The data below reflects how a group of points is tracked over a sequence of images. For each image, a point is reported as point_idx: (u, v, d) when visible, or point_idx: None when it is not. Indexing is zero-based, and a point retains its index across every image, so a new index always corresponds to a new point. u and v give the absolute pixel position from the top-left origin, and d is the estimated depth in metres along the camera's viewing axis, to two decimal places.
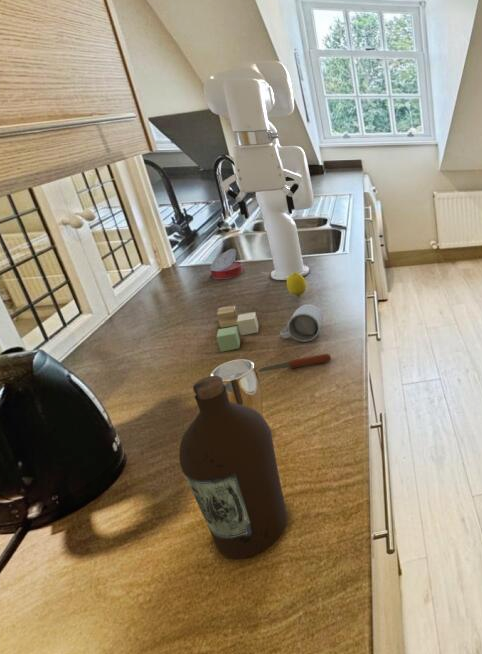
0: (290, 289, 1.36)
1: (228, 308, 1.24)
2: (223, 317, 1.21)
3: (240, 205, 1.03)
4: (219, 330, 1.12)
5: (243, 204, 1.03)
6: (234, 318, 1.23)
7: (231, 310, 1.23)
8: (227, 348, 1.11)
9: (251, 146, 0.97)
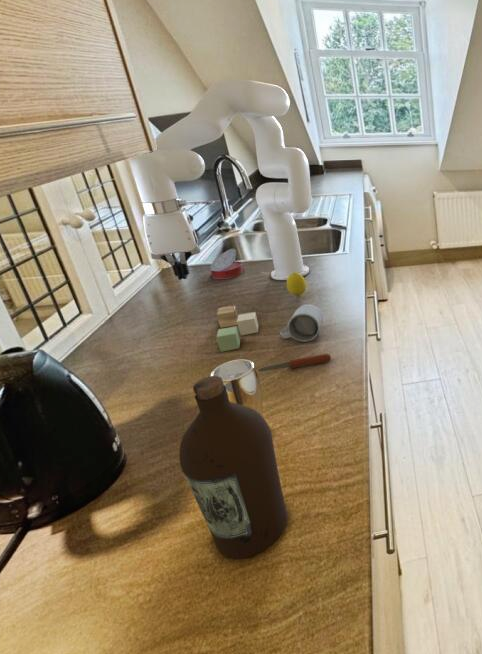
0: (290, 289, 1.36)
1: (228, 308, 1.24)
2: (223, 317, 1.21)
3: (174, 268, 1.14)
4: (219, 330, 1.12)
5: (176, 267, 1.14)
6: (234, 318, 1.23)
7: (231, 310, 1.23)
8: (227, 348, 1.11)
9: (158, 215, 1.06)
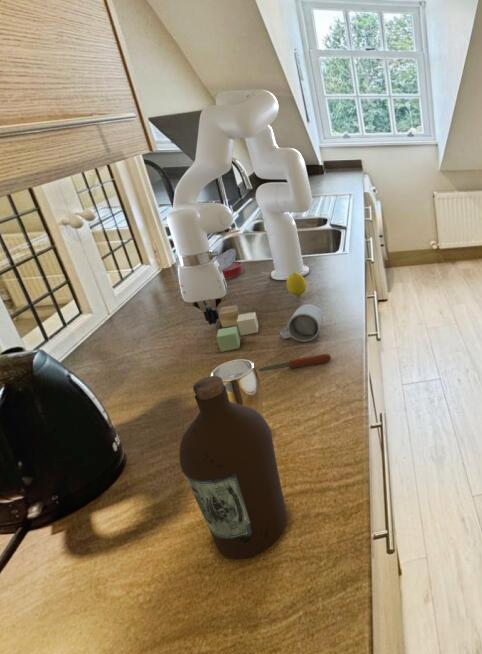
0: (290, 289, 1.36)
1: (230, 308, 1.24)
2: (225, 316, 1.21)
3: (205, 314, 1.21)
4: (219, 330, 1.12)
5: (207, 313, 1.20)
6: (236, 318, 1.23)
7: (233, 310, 1.23)
8: (227, 348, 1.11)
9: (192, 267, 1.13)
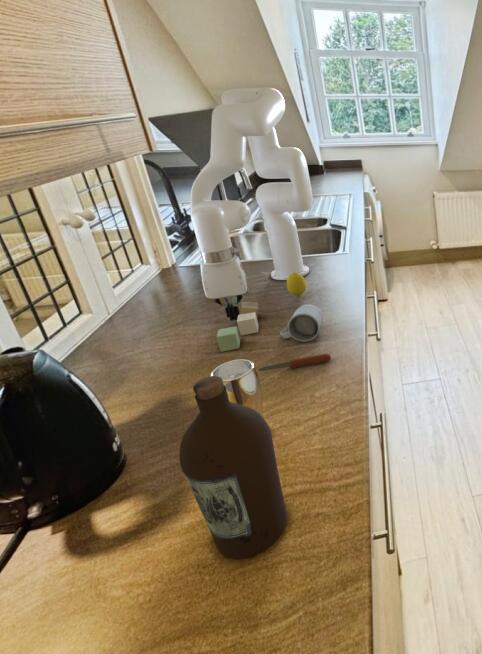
0: (290, 289, 1.36)
1: (252, 304, 1.25)
2: (246, 311, 1.23)
3: (226, 310, 1.22)
4: (219, 330, 1.12)
5: (229, 309, 1.21)
6: (256, 315, 1.24)
7: (255, 306, 1.24)
8: (227, 348, 1.11)
9: (215, 264, 1.14)
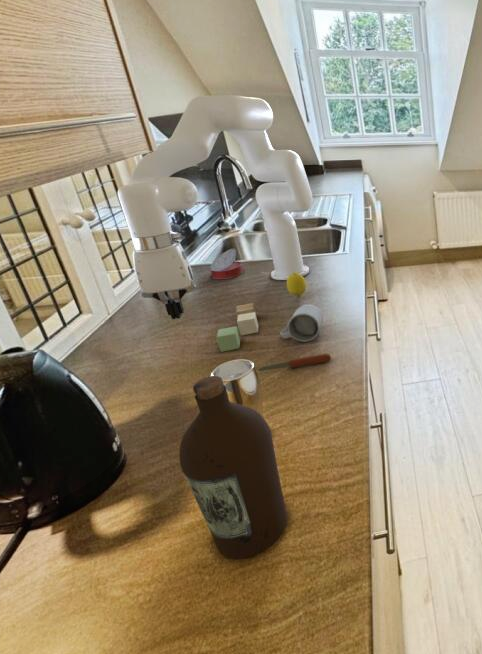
0: (290, 289, 1.36)
1: (247, 306, 1.25)
2: None
3: (167, 306, 1.04)
4: (219, 330, 1.12)
5: (169, 306, 1.03)
6: None
7: (250, 307, 1.24)
8: (227, 348, 1.11)
9: (149, 251, 0.96)
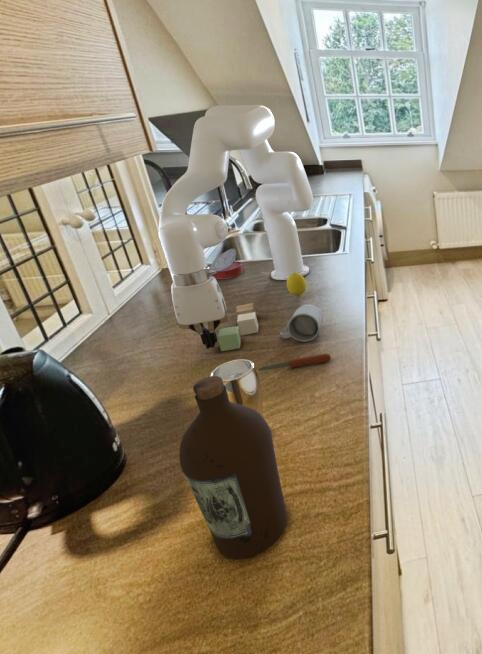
0: (290, 289, 1.36)
1: (247, 306, 1.25)
2: None
3: (202, 337, 1.09)
4: (220, 329, 1.12)
5: (204, 336, 1.08)
6: None
7: (250, 307, 1.24)
8: (228, 348, 1.11)
9: (187, 287, 1.01)
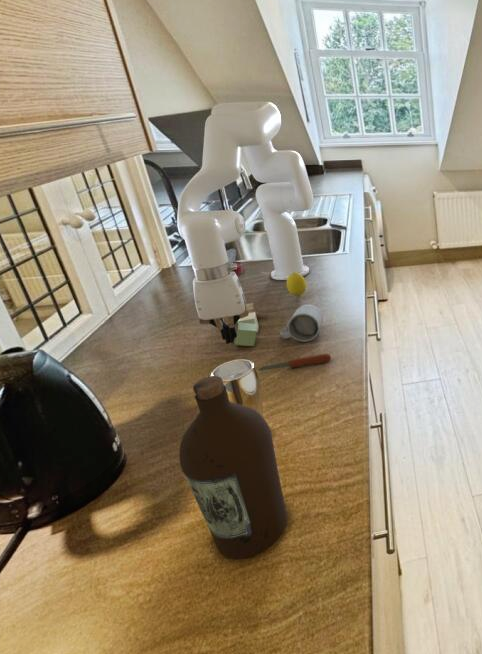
0: (290, 289, 1.36)
1: (247, 306, 1.25)
2: None
3: (222, 332, 1.10)
4: (240, 323, 1.13)
5: (224, 331, 1.09)
6: None
7: (250, 307, 1.24)
8: (243, 343, 1.11)
9: (209, 281, 1.02)
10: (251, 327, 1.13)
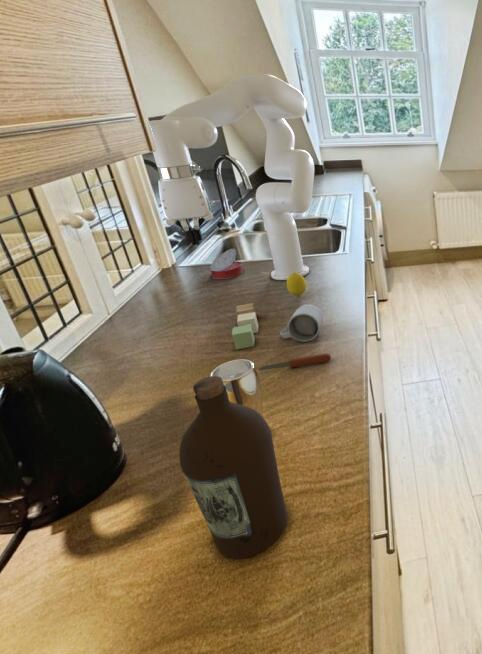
0: (290, 289, 1.36)
1: (247, 306, 1.25)
2: None
3: (188, 233, 1.17)
4: (234, 328, 1.13)
5: (190, 233, 1.16)
6: None
7: (250, 307, 1.24)
8: (242, 346, 1.12)
9: (173, 180, 1.09)
10: (245, 329, 1.12)
